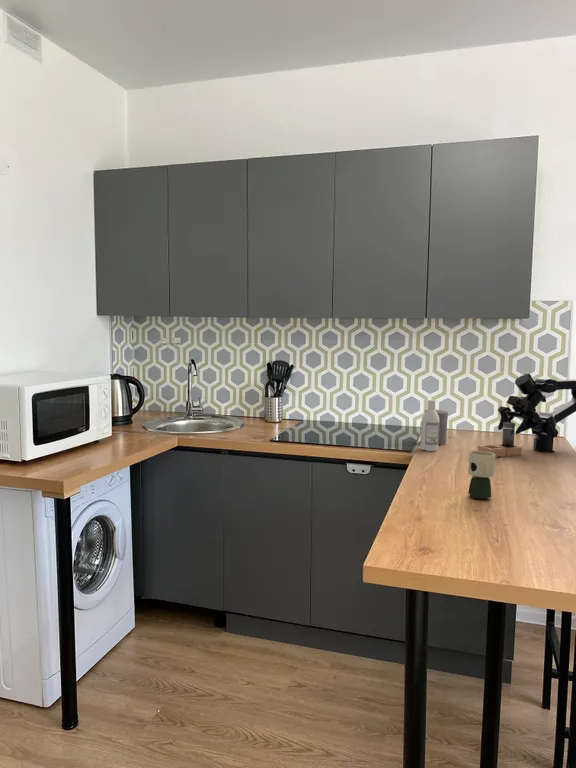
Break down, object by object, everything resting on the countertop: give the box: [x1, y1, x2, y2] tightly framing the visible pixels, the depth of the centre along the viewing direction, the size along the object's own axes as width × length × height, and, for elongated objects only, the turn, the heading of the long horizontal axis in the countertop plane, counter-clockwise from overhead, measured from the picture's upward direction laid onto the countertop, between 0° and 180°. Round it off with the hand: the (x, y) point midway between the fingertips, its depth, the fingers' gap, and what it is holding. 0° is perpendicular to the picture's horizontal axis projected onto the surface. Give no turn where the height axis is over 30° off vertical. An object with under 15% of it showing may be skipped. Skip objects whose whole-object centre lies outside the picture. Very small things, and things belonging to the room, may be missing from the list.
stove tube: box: [501, 421, 516, 448], centre depth 234 cm, size 4×4×12 cm
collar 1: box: [477, 444, 507, 458], centre depth 231 cm, size 7×7×3 cm
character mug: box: [467, 450, 496, 500], centre depth 169 cm, size 11×7×13 cm, turn 1°
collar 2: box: [495, 443, 523, 457], centre depth 235 cm, size 7×7×3 cm
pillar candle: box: [424, 408, 449, 445], centre depth 253 cm, size 10×10×15 cm
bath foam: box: [419, 399, 440, 452], centre depth 236 cm, size 7×7×20 cm
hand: (507, 431), depth 234 cm, fingers open, 9 cm apart
